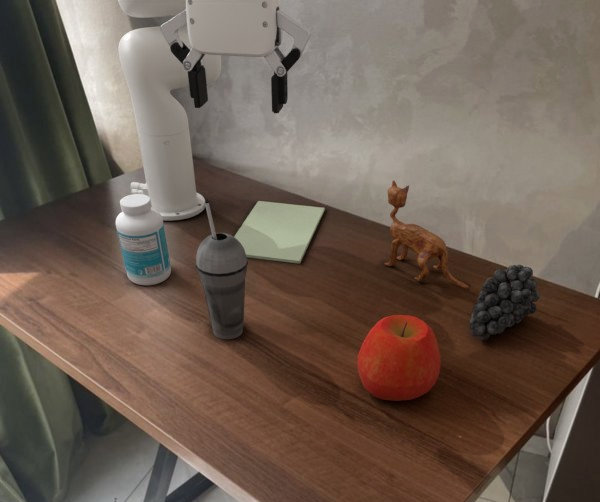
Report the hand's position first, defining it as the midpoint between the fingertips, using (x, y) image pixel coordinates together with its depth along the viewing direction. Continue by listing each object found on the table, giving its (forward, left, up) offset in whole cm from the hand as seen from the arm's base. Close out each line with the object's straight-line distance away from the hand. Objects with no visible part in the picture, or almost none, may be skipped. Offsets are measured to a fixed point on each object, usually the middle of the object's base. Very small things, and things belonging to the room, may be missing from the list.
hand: (239, 107), depth 73 cm
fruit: (+36, +7, -31) cm, 48 cm away
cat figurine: (+25, +19, -31) cm, 44 cm away
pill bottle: (-21, +8, -31) cm, 38 cm away
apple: (+23, -11, -31) cm, 40 cm away
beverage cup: (-3, -4, -31) cm, 31 cm away
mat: (-4, +29, -31) cm, 42 cm away
